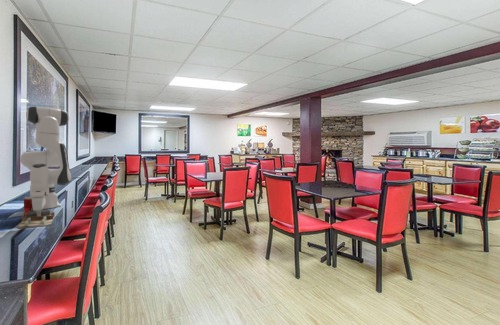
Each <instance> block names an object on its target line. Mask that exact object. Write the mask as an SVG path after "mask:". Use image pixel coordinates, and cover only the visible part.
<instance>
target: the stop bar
mask: <svg viewBox="0 0 500 325" xmlns="http://www.w3.org/2000/svg"><path fill="white" fill-rule="evenodd" d="M48 215H51V208H48V209H43V210H41V216H48ZM34 216H37V212H36V211H29V212H28V217H34Z"/></svg>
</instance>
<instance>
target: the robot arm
mask: <svg viewBox="0 0 500 325" xmlns="http://www.w3.org/2000/svg"><path fill="white" fill-rule="evenodd" d="M25 114H26V115H25V116H26V119H27V121H28V122H30V123H32V124H34V125H36V129H35V130H36V131H35V143H36V144H37V145H38V146H40V147H42V148H44V149H45V150H32V151H24V152H22V154H21V155H20V158H19V159H20V160H19V161H20V163H21V164H22V165H23V166H24V167H25V168H27V169H28V170H29V171H30V172H29V182H30V186H29V196H30V197H31V198H32V207H33V211H36V212H37V216H41V210H48V209H54V208H58V207H61V206H62V205H61V203H59V198H58V194H57V193H56V186H55V185H57V186H58V185H59V186H66V185H68V184H69V183H70V182H71V181H72V173H71V170H70V165H69V159H68V158H69V157H68V152H67V151H68V150H67V148H66V145H65V143H63V142H62V140H61V138H60V127H63V126H64V127H65V126H66V125H67V124H68V123H69V121H70V116H69V114H68V111H66V110H64V109H58V108H53V107H46V106H45V107H43V106H35V105H34V106H29V107H28V108H27V110H26V113H25ZM55 167H57V168H55Z"/></svg>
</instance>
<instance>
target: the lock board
mask: <svg viewBox="0 0 500 325" xmlns="http://www.w3.org/2000/svg"><path fill="white" fill-rule="evenodd" d="M55 212H56V211H55V210H54V211H50V215H48V216H34V217H28V213H25V214H24V213H23V217H21V222H20V223H19V225H17V230H23V229H24V230H26V229H34V228H44V227H52V223H53V220H54V219H55V216H56V213H55Z"/></svg>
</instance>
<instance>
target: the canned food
mask: <svg viewBox="0 0 500 325" xmlns="http://www.w3.org/2000/svg"><path fill="white" fill-rule="evenodd" d="M29 211H33V207H32V198H31V197H30V195H29V196H24V197H23V215H24V214H25V213H28V212H29Z"/></svg>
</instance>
